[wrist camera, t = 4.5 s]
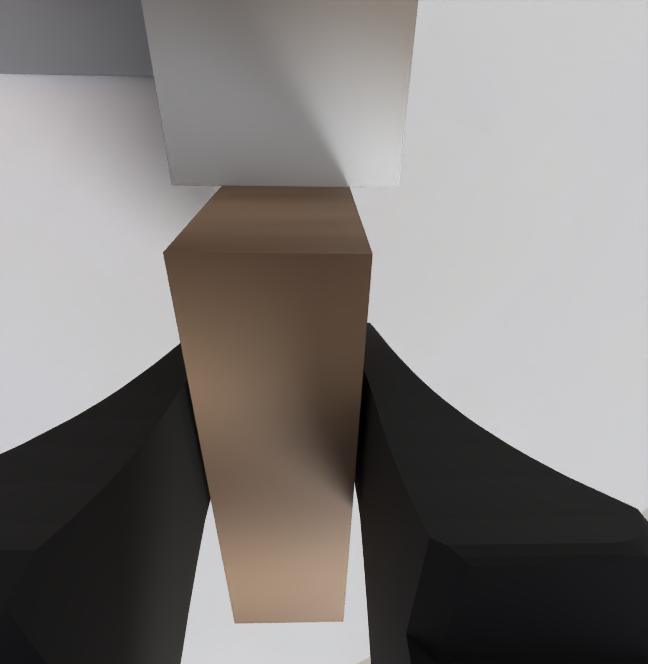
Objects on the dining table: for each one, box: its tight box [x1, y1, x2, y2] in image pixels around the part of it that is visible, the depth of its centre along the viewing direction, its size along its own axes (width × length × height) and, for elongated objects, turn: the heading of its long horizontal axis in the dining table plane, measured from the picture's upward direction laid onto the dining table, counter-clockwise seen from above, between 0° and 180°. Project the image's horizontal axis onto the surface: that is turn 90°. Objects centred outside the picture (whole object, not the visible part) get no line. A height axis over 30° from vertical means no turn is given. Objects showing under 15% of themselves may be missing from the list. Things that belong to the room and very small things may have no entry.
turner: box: [141, 0, 418, 623], centre depth 8 cm, size 17×5×5 cm, turn 179°
